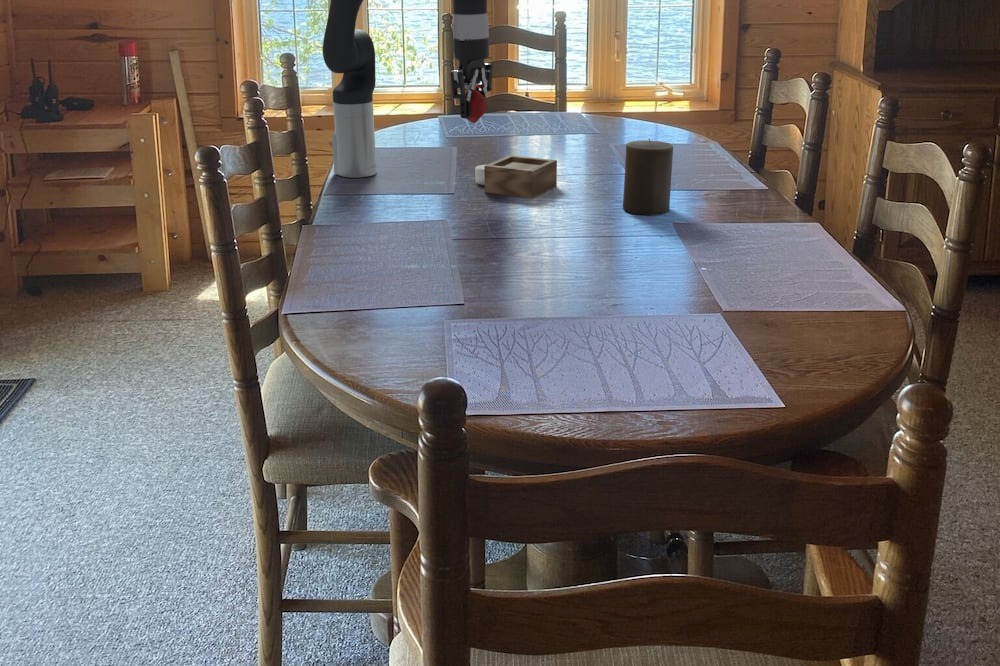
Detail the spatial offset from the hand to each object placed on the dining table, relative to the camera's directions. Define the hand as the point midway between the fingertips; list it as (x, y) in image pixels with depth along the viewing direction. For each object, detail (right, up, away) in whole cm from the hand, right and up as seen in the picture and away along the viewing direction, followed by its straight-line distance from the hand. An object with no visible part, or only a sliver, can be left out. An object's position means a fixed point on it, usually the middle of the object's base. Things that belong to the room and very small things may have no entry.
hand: (473, 115), depth 230 cm
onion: (0, -2, +1) cm, 2 cm away
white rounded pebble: (+3, -12, +15) cm, 20 cm away
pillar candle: (+37, -22, -8) cm, 43 cm away
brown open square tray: (+11, -15, +8) cm, 20 cm away
